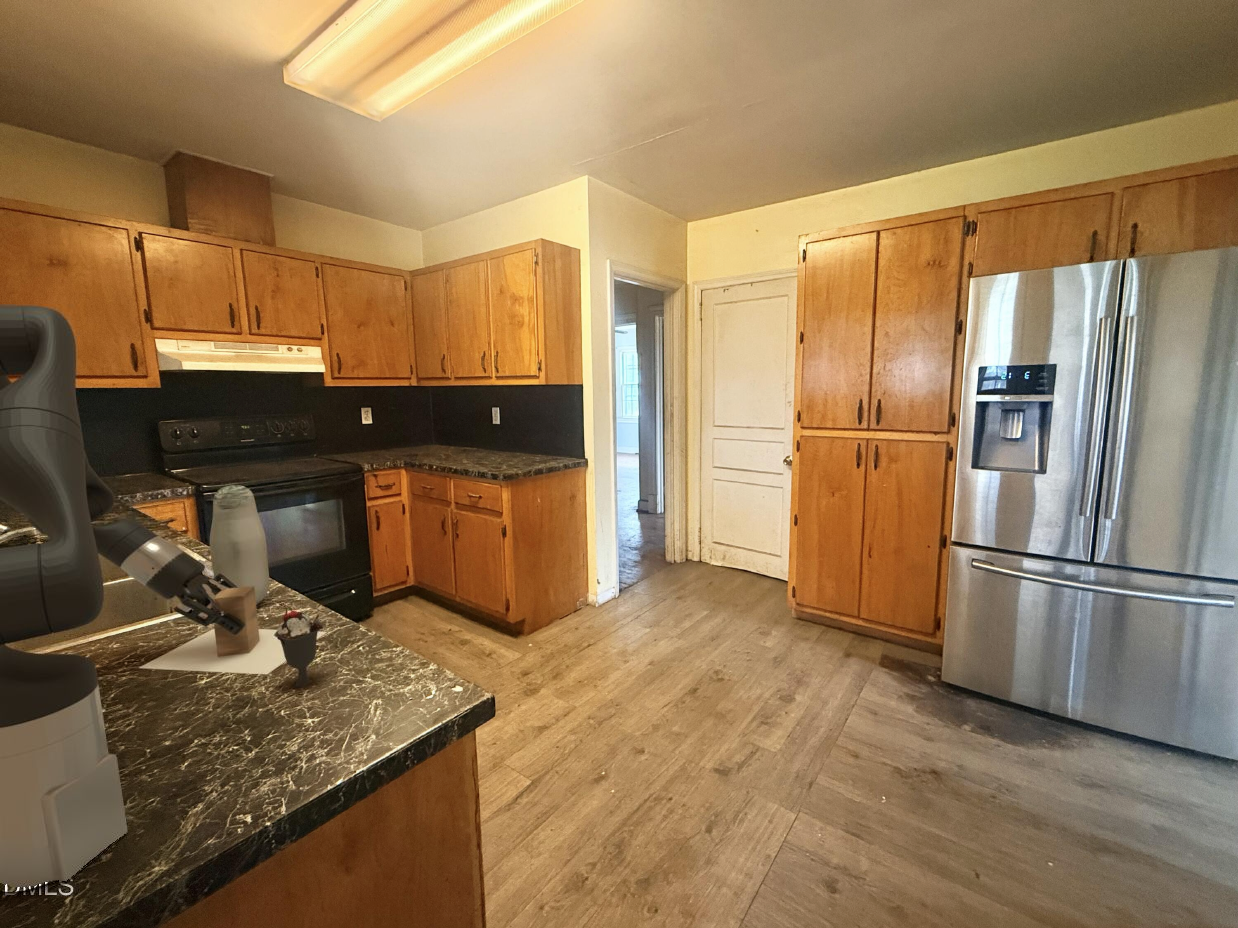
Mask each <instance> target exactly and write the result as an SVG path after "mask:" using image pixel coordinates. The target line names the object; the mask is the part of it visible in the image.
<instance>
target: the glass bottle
mask: <svg viewBox="0 0 1238 928" xmlns="http://www.w3.org/2000/svg"><path fill="white" fill-rule="evenodd" d="M267 547H268V546H267V537H266V532H265V529H264V526H263V524H262V521H261V518H260V516H259V513H258V509H257V504H256V500H255V497H254V494H253V492H252V491H251V489H249V488H248V487H246V486H244V485H240V484H236V485H235V484H233V485H226V486H223V487H221V488H220V489H218V490H217V491H216V492H215V494H214V496H213V500H212V521H211V528H210V534H209V551H210V558H211V565H212V573H213V578H214V577H215V576H217V575H218V574H219V573H220V574H222V575H224V576H225V577H226V578H227V579H229V580H230V581H231V582H232V583H233V584H235V585H236V586H237V587H238V588H239V587H250V586H254V589H255V599H256V606H257V605H258V604H259V603H261V602H263V600H264V599H265V597H266V596H267V594H268V592H269V590H270V589H269V588H270V573H269V560H268V548H267Z"/></svg>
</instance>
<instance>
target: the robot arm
mask: <svg viewBox="0 0 1238 928" xmlns="http://www.w3.org/2000/svg"><path fill="white" fill-rule="evenodd" d="M8 376H20V377H19V378H17V379H16V380H14V381H11V380H10V378H9V377H8ZM76 377H77V347H76V340H75V334H74V332H73V328H72V325H70V323H69V321H68V320H67V318H66V317H65V316H64V314H62V313H61V312H59V310H56V309H54V308H50V307H46V306H40V305H23V304H21V305H20V304H19V305H16V304H14V305H13V304H11V305H9V304H0V501H2V502H3V503H5V504H7V505H8V506H10V507H12V508H13V509H14V510H16V511H18V512H19V513H20V514H22V515H24V516H25V517H27V519H28V522H29V523H30V524H31V527H33V528H34V529H36V530H37V531H38V532H40V533H42V534H43V535H46V536H47V537H48V538H49V541H45V542H41V543H40V542H38V543H30V544H23V545H15V546H8V547H1V548H0V883H2V884H4V885H6V884H7V886H8V885H9V886H10V887H14V888H15V887H21V888H22V887H25V888H26V886H27V887H29V886H36V885H38V884H42V883H44V882H49V881H53V880H59V881H66V882H68V881H69V880H71V879H72V878H73V877H74V876H75V875H77V874H78V873H79V872H80V871H81V870H82V869H81V868H83V866H84V865H86V864H87V863H88V862H89V861H90V860H92V859H93V858H94V857H96V856H97V855H98V854H99V853H100V852H101V851H103V850H104V849H106V848H107V847H108V846H109V845H110V844H112V843H113V842H115V841H116V840H117V839H118V840H120V839H121V838H122V837H123V836H125V835H126V834H127V833H128V825H127V819H126V813H125V812H126V810H125V806H124V799H123V791H122V785H121V779H120V778H121V777H120V772H119V764H118V757H117V755H116V754H114V753H109V749H108V748H109V747H108V741H107V736H106V727H105V721H104V714H103V707H102V701H101V694H100V687H99V680H98V679H99V678H98V673H97V668H96V664H95V663H94V661H93V660H92V659H90V658H89V657H87V656H85V655H80V654H72V653H38V652H36V653H35V652H28V651H23V650H19V649H16V648H12V647H10V646H8V645H6V644H12V643H17V642H21V641H25V640H29V639H35V638H38V637H44V636H49V635H51V634H56V633H61V632H65V631H70V630H74V629H77V628H79V627H83V626H86V625H88V624H90V623H92V622H94V621H96V620H97V618H98V617H99V615H100V614H101V611H102V609H103V605H104V600H105V599H104V598H105V596H104V595H105V590H104V579H103V577H104V576H103V571H102V566H101V561H100V556H102V557H103V558H104V559H106V560H107V561H109V562H111V563H112V564H113V565H115V566H117V567H118V568H120V569H121V570H123V571H124V572H125V573H126V574H127V575H128V576H130V577H131V578H133V579H134V580H135V581H137V582H138V583H140V584H142V585H143V586H145V587H146V588H147V589H150V590H151V591H152V592H154V593H156V594H158V596H160V597H162V598H163V599H165V600H168V601H169V600H172V599H175V598H177V599H178V600H179V601H180V602H179V603H178V604H177V605H176V606H175V607H174V608H173V611H174V612H175V613H178V614H179V615H181V616H182V617H185V618H187V619H189V620H190V621H193V622H195V623H197V624H199V625H201V626H203V627H208V626H210V625H213V626H214V625H215V624H218V625H220V626H221V627H223V628H225V629H226V630H228V631H229V632H231V633H232V634H234V635H236V634H238V633H239V632H240V631H241V630H242V629H243V628H244V627H245V624H244V623H243V622H241V621H240V620H238V619H237V618H235V617H234V616H232V615H231V614H229V613H228V614H226V611H225V610H224V609H223V608H222V607H221V606H220V605H219V601H217V600H216V599H214V598H216V596H215V595H217V594H218V593H219V592H220V591H222V590H226V589H228V588H238V587H237V586H236V585H235V584H233V583H232V582H231V581H230V580H229V579H227V578H226V577H225V576H224V575H222V574H220V573H219V574H218V575H217V576H215V577H214V576H213V577H212V576H211V577H210V576H207V575H205V574H204V573H203V572H204V571H205V569H206V566H205V564H203V563H202V562H201V561H199V560H198V559H196V558H195V557H193V556H191V555H190V554H189V553H188V552H185V550H183V549H181V547H178V546H177V545H176V544H174V543H173V542H171V541H168V540H166V539H165V538H163V537H161V536H159V535H157V533H154V531H152V530H150V529H149V528H147V527H146V526H144V525H143V524H142V523H140V522H138V520H135V519H134V518H133V519H132V518H122V519H120V520H117V521H114V522H111V523H108V524H104V525H98V524H97V525H96V524H92V523H93V522H95V521H97V520H98V519H100V518H102V517H103V516H105V515H106V514H108V513H110V511H112V510H113V507H114V505H115V503H116V498H115V497H116V496H115V494H114V492H113V491H112V489H110V487H108V485H107V484H106V483H105V482H104V481H103V480H102V479H101V478H100V477H99V476H98V474H97V473H96V472H95V471H94V469H93V468H92V466H91V465H90V463H89V460H88V459H89V458H88V457H87V453H86V451H85V446H84V445H85V444H84V435H83V430H82V422H81V419H80V413H79V409H78V402H77V401H78V400H77V395H76V391H77V390H76V381H77V380H76V379H77V378H76ZM213 609H214V610H215V611H216V612H215V611H213ZM258 614H259V610H257V615H258ZM204 617H205V618H204ZM124 834H125V835H124ZM120 837H121V838H120ZM119 838H120V839H119ZM118 840H117V841H118ZM117 841H116V842H117ZM116 842H115V843H116ZM113 844H114V843H113ZM113 844H112V845H113ZM107 849H108V848H107ZM107 849H106V850H107ZM97 857H98V856H97ZM97 857H96V858H97ZM86 866H87V865H86ZM83 869H84V868H83ZM79 870H80V871H79ZM78 871H79V872H78ZM77 872H78V873H77ZM76 873H77V874H76ZM73 875H74V876H73ZM72 876H73V877H72ZM71 877H72V878H71ZM68 879H69V880H68ZM67 880H68V881H67Z"/></svg>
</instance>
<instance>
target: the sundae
mask: <svg viewBox="0 0 1238 928" xmlns="http://www.w3.org/2000/svg"><path fill="white" fill-rule="evenodd" d="M278 605H279V606H280V607H283V608H284V609H285V610H286V611H285V614H284V615H282V617H281V618H282V620H283V621H282V622H281V623H280V624H279V626H278V628H277V630H278V631H277V632H276V633H275V634H274V636H275V637H277V638H278V640H280V641H281V644H282V648H283V652H284V656H285V659H286V661H285V662H286V663H287V665H288V666H290V667H291V668H293V669H296V670H297V672H298V673H297V674H298V675H297V676H298V678H297V680H296V683H295V684H294V686H295V687H298V688H302V687H306V686H308V685H309V684H311V683H312V682H313V681H312V679H310V678H309V676H308V673H307V672H308V671H307V668H308V667H309V665H311V664H312V663H313V661H314V660H315V658H316V653H317V642H318V639H317V633H318V631H321V630H323V629H324V626H323V624H322V622H321V621H319V620H318V619H319V617H320V614H317V615H316V617H315V618H314V620H312V619H311V616H310V614H307V613H305V612H298V611H297V610H293V609H291V607H289V605H286V604H285V603H284V602H280V603H278ZM287 608H288V609H289V610H290V613H288V609H287ZM307 694H308V693H307V692H305V693H301V694H299V693H298V694H293V696H294V697H295V696H302V695H307Z"/></svg>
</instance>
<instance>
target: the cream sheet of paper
mask: <svg viewBox="0 0 1238 928" xmlns="http://www.w3.org/2000/svg"><path fill="white" fill-rule="evenodd" d="M277 631H278V629H268V628H267V629H266V628H265V629H264V628H259V638H260V641H259V642H258V644H257V645H256V646H255V647H254V648H253V649H252V651H251V652H250V653H246V654H238V655H229V656H221V657H218V655H217V647H216V638H215V629H214V628H212V629H210V630H208V631H207V632H205V633H203V634H201V635H199V636H197V637H195V638H193V639H191V640H189V641H188V642H186V643H185V642H184V643H183V644H181V645H180V646H178V647H176V648H174V649H172V650H170V651H168V652H166V653H164V654H163V655H161V656H158V657H157V658H155V659H153V660H150V661H149V662H147V663H145V664H144V665H142V666H139V667H138V669H149V670H167V671H169V670H170V671H171V670H172V671H187V672H188V671H189V672H190V671H191V672H206V673H207V672H209V673H210V672H211V673H230V674H248V675H249V674H251V675H268V674H270V673H272V671H274V670H275V669H277V668H278V667H280V666H281V665H282V664H284V663H285V662H287V661H286V659H285V656H284V652H283V648H282V644H281V641H280V640H278V638H277V637H275V636H274V634H275V633H276V632H277ZM327 633H328V631H321V630H319V631H318V633H317V640H319V639H320V638H321V637H323V636H324V635H325V634H327Z"/></svg>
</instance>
